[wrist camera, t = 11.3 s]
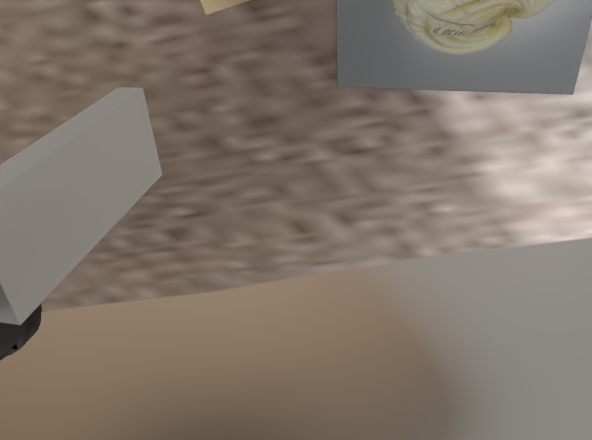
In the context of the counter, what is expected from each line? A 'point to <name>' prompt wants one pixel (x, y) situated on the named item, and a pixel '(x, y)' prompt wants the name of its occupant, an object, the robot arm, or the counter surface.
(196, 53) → the counter surface
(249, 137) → the counter surface
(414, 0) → the seashell
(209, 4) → the oak block
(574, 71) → the plate
